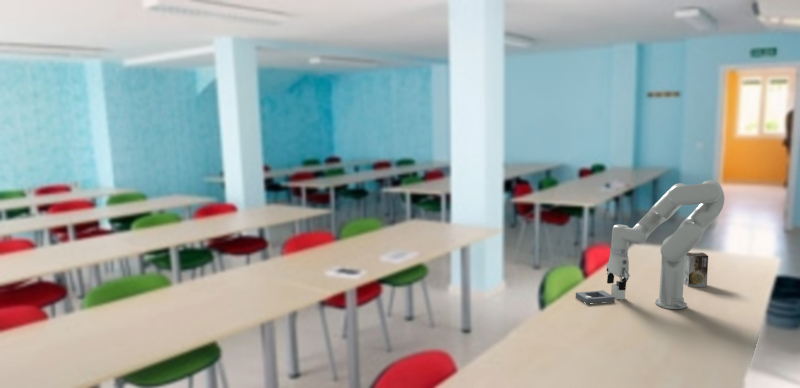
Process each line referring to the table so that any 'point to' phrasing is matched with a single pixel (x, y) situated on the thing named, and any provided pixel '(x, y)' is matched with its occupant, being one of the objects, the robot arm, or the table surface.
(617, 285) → the plug
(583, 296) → the socket plate
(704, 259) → the coffee box
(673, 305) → the robot arm
